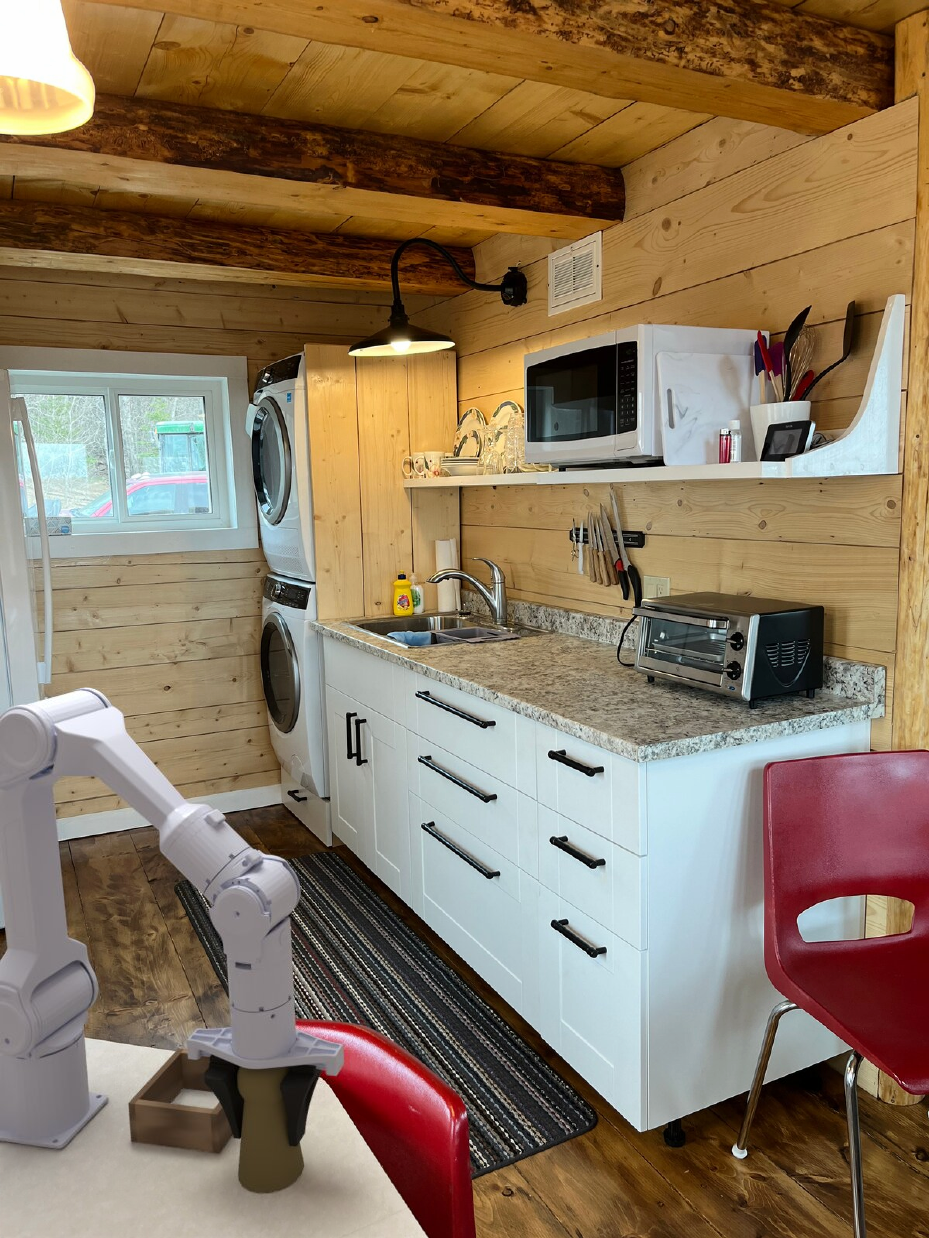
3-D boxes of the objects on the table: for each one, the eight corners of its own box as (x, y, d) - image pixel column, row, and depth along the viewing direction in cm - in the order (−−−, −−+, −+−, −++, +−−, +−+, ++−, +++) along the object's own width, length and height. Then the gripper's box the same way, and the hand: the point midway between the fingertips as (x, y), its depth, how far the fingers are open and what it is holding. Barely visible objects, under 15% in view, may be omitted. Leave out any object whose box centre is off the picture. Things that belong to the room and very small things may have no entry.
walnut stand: (131, 1141, 91) (128, 1102, 91) (180, 1083, 100) (178, 1048, 100) (219, 1153, 89) (217, 1114, 89) (262, 1093, 98) (260, 1057, 98)
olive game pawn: (289, 1196, 83) (283, 1081, 82) (226, 1188, 84) (219, 1074, 83) (313, 1151, 89) (308, 1042, 88) (254, 1144, 90) (248, 1036, 89)
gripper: (352, 980, 87) (358, 1116, 89) (209, 967, 90) (218, 1099, 92) (324, 1021, 80) (331, 1168, 82) (171, 1005, 83) (181, 1147, 85)
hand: (269, 1135), depth 86 cm, fingers closed on olive game pawn, 5 cm apart
